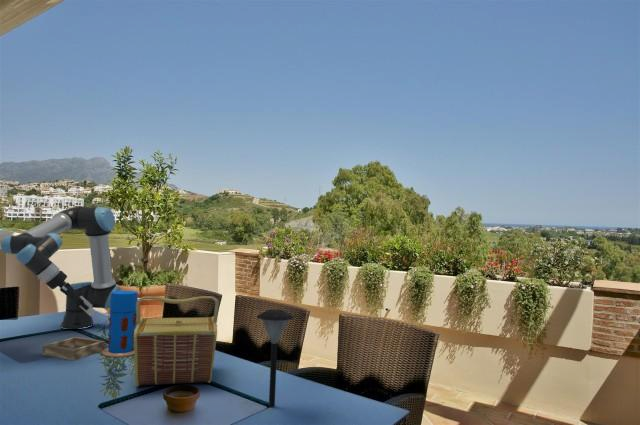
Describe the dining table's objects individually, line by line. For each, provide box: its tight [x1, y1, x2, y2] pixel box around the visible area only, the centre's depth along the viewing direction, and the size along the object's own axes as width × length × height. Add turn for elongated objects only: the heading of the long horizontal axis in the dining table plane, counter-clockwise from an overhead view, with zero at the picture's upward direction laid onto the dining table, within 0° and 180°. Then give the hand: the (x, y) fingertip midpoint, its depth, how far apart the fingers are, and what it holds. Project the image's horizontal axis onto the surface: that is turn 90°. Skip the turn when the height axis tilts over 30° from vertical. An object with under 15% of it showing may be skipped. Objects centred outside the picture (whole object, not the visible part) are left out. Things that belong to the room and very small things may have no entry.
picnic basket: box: [133, 295, 220, 388], centre depth 170 cm, size 29×26×30 cm
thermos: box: [107, 290, 139, 353], centre depth 202 cm, size 11×11×25 cm
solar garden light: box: [256, 309, 295, 408], centre depth 148 cm, size 12×12×30 cm
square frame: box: [42, 336, 106, 361], centre depth 197 cm, size 16×16×4 cm
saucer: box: [101, 347, 134, 358], centre depth 201 cm, size 16×16×1 cm
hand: (92, 311), depth 196 cm, fingers open, 13 cm apart
